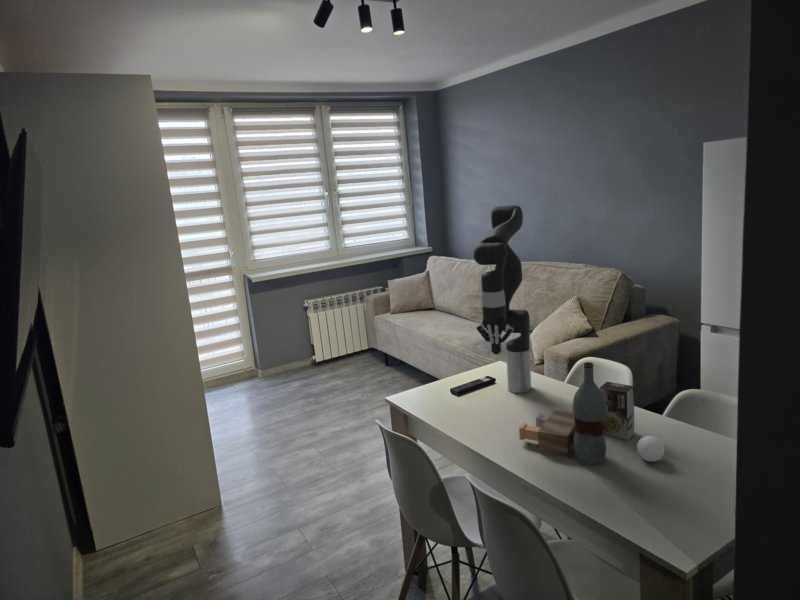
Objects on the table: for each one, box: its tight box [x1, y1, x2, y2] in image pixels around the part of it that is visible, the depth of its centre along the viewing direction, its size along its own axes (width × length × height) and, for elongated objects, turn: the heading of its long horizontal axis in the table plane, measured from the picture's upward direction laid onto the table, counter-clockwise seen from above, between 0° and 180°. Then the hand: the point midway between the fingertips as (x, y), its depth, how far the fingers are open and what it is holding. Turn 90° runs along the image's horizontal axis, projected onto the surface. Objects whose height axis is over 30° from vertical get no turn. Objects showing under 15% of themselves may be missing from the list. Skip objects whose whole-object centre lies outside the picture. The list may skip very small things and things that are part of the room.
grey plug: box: [535, 412, 550, 428], centre depth 175 cm, size 4×13×4 cm, turn 58°
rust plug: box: [518, 422, 540, 442], centre depth 169 cm, size 4×13×4 cm, turn 58°
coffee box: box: [598, 381, 635, 440], centre depth 172 cm, size 9×6×16 cm
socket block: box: [537, 408, 575, 458], centre depth 170 cm, size 18×9×7 cm, turn 148°
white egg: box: [636, 435, 665, 463], centre depth 157 cm, size 10×7×7 cm
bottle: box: [572, 361, 607, 467], centre depth 157 cm, size 9×9×30 cm
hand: (496, 353), depth 178 cm, fingers closed
